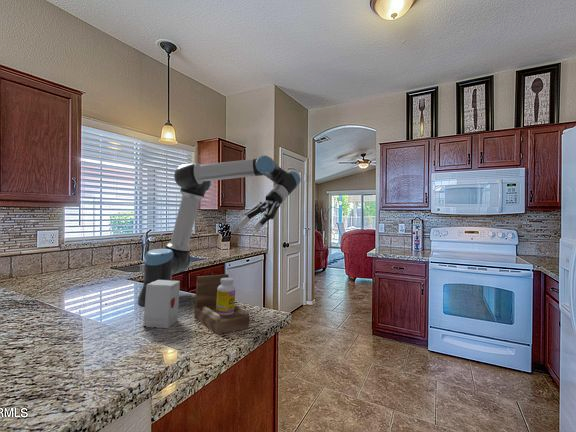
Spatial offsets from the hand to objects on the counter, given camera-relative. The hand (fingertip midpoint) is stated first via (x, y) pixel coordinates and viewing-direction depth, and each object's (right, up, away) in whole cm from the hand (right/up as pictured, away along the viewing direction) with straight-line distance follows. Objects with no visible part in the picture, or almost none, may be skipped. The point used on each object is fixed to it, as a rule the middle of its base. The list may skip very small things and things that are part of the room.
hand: (246, 228), depth 124 cm
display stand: (-7, -35, -14) cm, 39 cm away
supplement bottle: (-6, -31, -16) cm, 35 cm away
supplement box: (-28, -34, -18) cm, 48 cm away
